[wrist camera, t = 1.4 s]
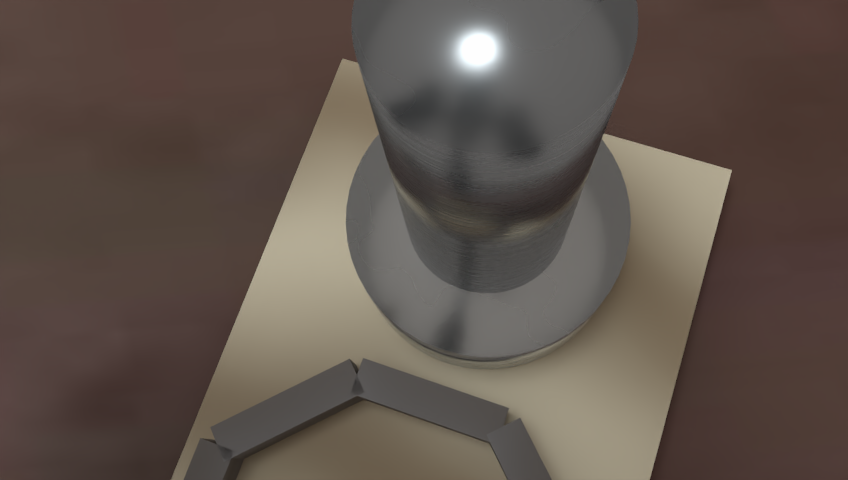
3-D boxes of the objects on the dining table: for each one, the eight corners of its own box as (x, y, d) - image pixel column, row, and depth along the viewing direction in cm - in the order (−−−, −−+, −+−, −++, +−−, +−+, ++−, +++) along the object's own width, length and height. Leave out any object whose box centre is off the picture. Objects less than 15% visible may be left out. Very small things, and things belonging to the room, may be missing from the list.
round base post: (666, 276, 19) (864, 74, 9) (449, 421, 18) (418, 367, 9) (517, 82, 20) (553, -264, 11) (313, 210, 20) (158, -35, 10)
